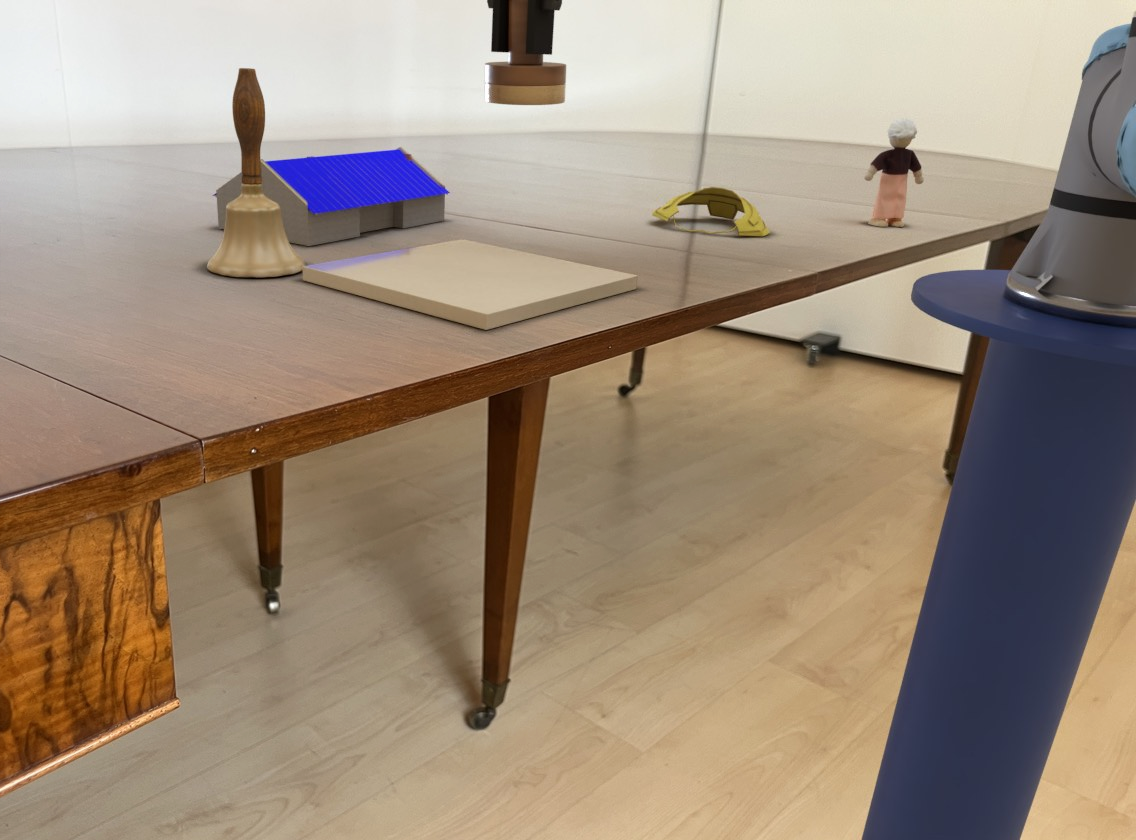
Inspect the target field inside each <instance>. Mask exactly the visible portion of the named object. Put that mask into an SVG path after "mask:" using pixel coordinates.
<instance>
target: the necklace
mask: <svg viewBox="0 0 1136 840" xmlns="http://www.w3.org/2000/svg"><path fill="white" fill-rule="evenodd" d="M690 205H693V206H706V207H707V211H708V214H709V216H710V217H716V218H722V219H727V220H731V221H733V223H734V225H735V226H734V227H733V228H732V229H730V230H720V231H711V232H710V231H707V230H704V229H694V230H692V229H685V228H680V227H679V226H677V223H676V218H675V215H676V214H678V213H679V212H680V210H679V208H678V207H681V206H690ZM738 212H740V213H741V214H742V213H743V214H744V215H743V217H741V218H739V219H736V220H735V218H736V216H737V215H738ZM651 216H653V217H655V218H658V219H660V220H661V221H662V220H663V221H665V222H670V220H671V218H672V217H673V224H674V226H675V228H676V229H678V230H680V231H685V232H691V233H697V232H698V233H699V232H700V233H701V232H703V233H704V234H705V233H706V234H708V235H713V234H714V235H715V234H726V233H727V234H728V233H731V232H733V231H734V230H736V229H737V233H738V234H737V235H738V236H743V237H744V236H746V237H765V236H767V235H769V234H771V232H770V230H769V229H768V226H767V225H766V223H765V221H764V220H763V219H762V218H761V215H760V213H759V212H758V210H757V208H756V207H755V206H754V205H753V204H751V202H749V201H748V200H747V199H746V198H744V197H741V196H740V195H739V194H738V193H736V192H735V191H734V190H732V189H728V188H724V187H716V186H710V187H704V188H702V189H699V190H694V191H688V192H686V193H682V194H680V195H677V196H674V197H673V198H672V199H670V200H669V201H667V202H666V204H665V205H662V206H660V207H658V208H657V209H655V210H653V211H652V213H651Z"/></svg>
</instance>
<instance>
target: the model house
mask: <svg viewBox="0 0 1136 840" xmlns="http://www.w3.org/2000/svg"><path fill="white" fill-rule="evenodd" d="M260 159H261V172H262V174H261V177H262V183H261V184H262V190H263V194H264V195H265V196H266V197H267V198H268V199H270V200H272V201H274V202H276V203H277V204H278V205H279V206H280V210H281V217H282V222H283V227H284V230H285V234H286V237H287V239H288V241H289V243H291V244H297V245H301V246H306V247H311V246H317V245H323V244H327V243H333V242H338V241H343V240H348V239H354V238H359V237H361V233H366V232H372V231H376V230H377V231H378V230H382V229H388V228H399V229H408V228H413V227H418V226H423V225H428V224H434V223H440V222H443V221H445V212H446V211H445V210H446V208H445V207H446V195H447V196H448V194H451V192H450V191H449V190H448V189H446V185H444V183H442V182H441V180H439V179H438V178H437V177H436V176H434V174H432V172H431V171H429V170H428V169H427V168H426V167H425V166H423V164H421V163H420V162H419V161H418V160H417V158H414V156H412V154H411V153H409V152H408V151H407V150H406V149H405V148H404V147H402V146H399V147H397V148H396V149H388V150H377V151H376V150H375V151H367V152H353V153H343V154H342V153H341V154H333V155H322V156H320V155H319V156H313V155H311V156H306V157H299V158H298V157H297V158H287V159H279V160H278V159H277V160H276V159H275V160H264V159H263V158H260ZM242 176H243V175H242V172H241V171H240V172H239V173H238V174H236V175H235V176H234V177H233V178H231V179H230V180H228V181H227V182H226V183H224V184H222V185H221V186H220V187H218V188H217V189H216V190H215V191H216V193H214V194H212V197H215V198H216V209H217V224H218V225H217V226H218V229H219V230H220V229H221V230H224V229H225V221H226V206H227V204H228V203H230V202H232V201H233V200H235V199H236V198H238V197H239V196H240V195H241V193H242V181H241V177H242Z"/></svg>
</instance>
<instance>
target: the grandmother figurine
mask: <svg viewBox="0 0 1136 840" xmlns="http://www.w3.org/2000/svg"><path fill="white" fill-rule="evenodd" d="M886 132H887V137H888V139H889V145H890V146H891V147H892V149H888V150H884V151H882V152H880V153H879V154H878V155H877V156H876V157H875V158H874V159H873V160H872V161H871V162H870V164H869V165H870V166H869V167H868V169H867V171H866V173H865V174H863V179H864V180H865V181H867V182H871V181H872V180H873V179H874V176H875V175H876V174H877V172H881V174H880V178H879V183H878V190H877V193H876V194H877V195H876V198H875V201H874V206H873V210H872V214H871V215H872V218H870V219H869V220H868V222H867V224H868V225H871V226H875V227H879V228H880V227H881V228H888V227H889V226H891V227H897V228H903V227H904V225H905V224H904V222H903V219H904V217H905V210H906V205H907V194H908V193H907V192H908V176H909V171H910V172H912V175H913V177H914V183H915V184H917V185H921V184H923V183H924V180H925V178H924V177H923V170H922V165H921V163H920V161H919V158H918V157H917V154H916V153H915V152H914V150H912V149H908V148H907V147H908V146H910V144H911V143H912V141H913V140H914V139H916V135H917V134H918V130H917V127H916V123H915V122H914V120H913V119H910V118H907V117H902V118H899V119H896V120H894V121H892V122H891V124H890V125H889V127H888V128H887V131H886Z"/></svg>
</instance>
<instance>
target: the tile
mask: <svg viewBox="0 0 1136 840" xmlns="http://www.w3.org/2000/svg"><path fill="white" fill-rule="evenodd" d="M302 269H303V270H302V281H304V282H308V283H311V284H315V285H319V286H322V287H326V288H329V289H333V290H337V291H340V292H345V293H349V294H351V295H356V296H359V297H363V298H367V299H370V300H373V301H377V302H381V303H385V304H387V305H393V306H396V307H399V308H404V309H407V310H410V311H414V312H418V313H421V314H426V315H429V316H432V317H436V318H440V319H443V320H447V321H451V322H455V323H458V324H462V325H465V326H470V327H473V328H477V329H481V330H485V331H487V330H491V329H495V328H498V327H502V326H506V325H510V324H513V323H517V322H520V321H525V320H529V319H532V318H536V317H539V316H542V315H543V316H544V315H545V314H550V313H554V312H557V311H561V310H565V309H568V308H572V307H576V306H580V305H582V304H587V303H590V302H595V301H598V300H601V299H605V298H608V297H613V296H615V295H619V294H623V293H627V292H631V291H634V290H637V284H638V275H636V274H632V273H628V272H622V271H617V270H613V269H608V268H603V267H598V266H593V265H588V264H584V263H579V262H576V261H570V260H565V259H559V258H554V257H551V256H546V255H541V254H536V253H531V252H526V251H521V250H516V249H511V248H506V247H502V246H496V245H493V244H488V243H483V242H478V241H474V240H473V241H472V240H468V239H465V238H462V239H457V240H450V241H444V242H438V243H432V244H427V245H420V246H413V247H409V248H403V249H396V250H390V251H384V252H379V253H372V254H367V255H360V256H354V257H350V258H343V259H337V260H332V261H325V262H319V263H313V264H308V265H306V266H303V267H302Z"/></svg>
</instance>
